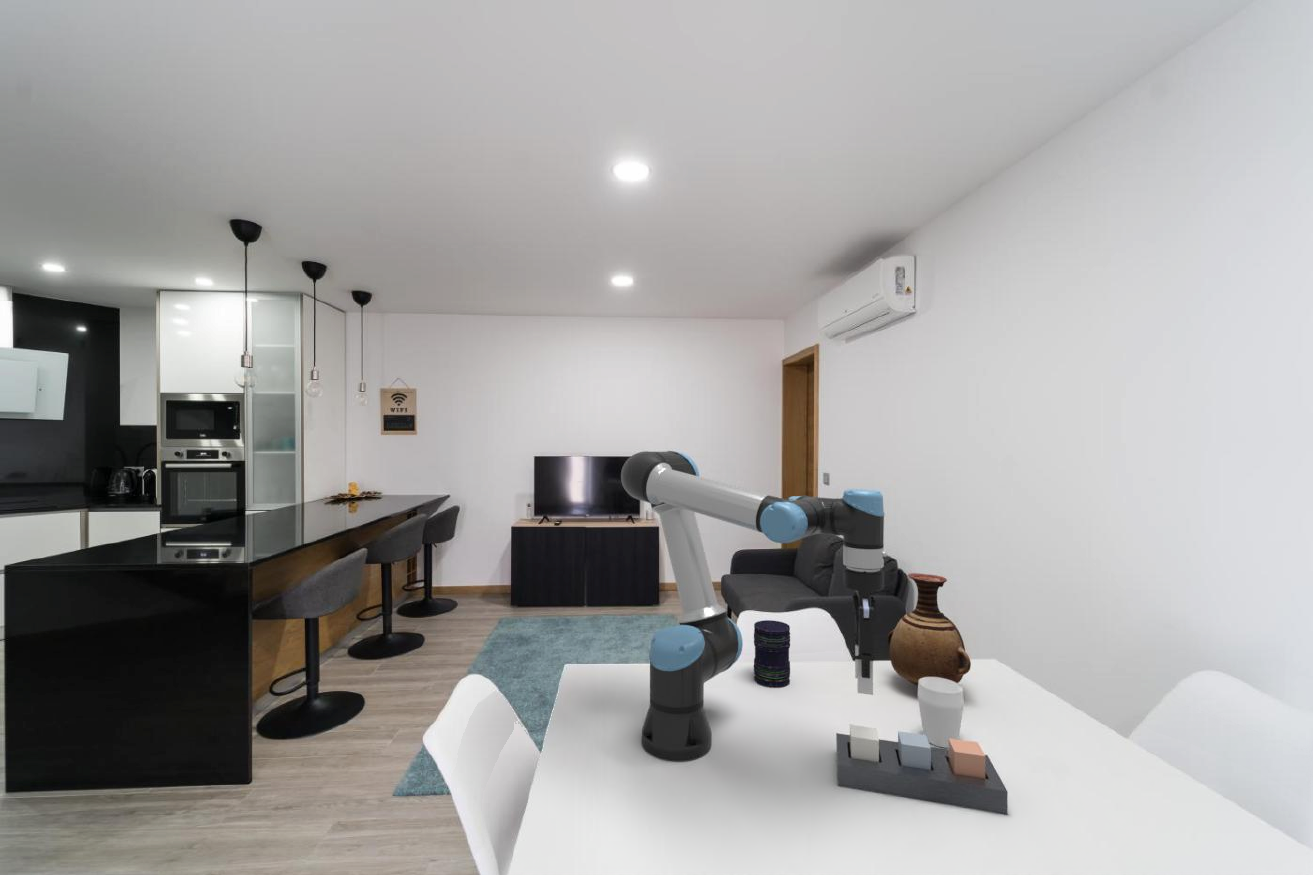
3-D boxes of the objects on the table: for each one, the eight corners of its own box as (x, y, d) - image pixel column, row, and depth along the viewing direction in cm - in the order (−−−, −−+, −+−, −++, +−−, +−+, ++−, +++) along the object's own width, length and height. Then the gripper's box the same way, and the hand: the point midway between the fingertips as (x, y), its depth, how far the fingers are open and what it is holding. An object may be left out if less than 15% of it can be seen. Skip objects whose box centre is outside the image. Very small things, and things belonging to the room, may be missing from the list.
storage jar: (769, 670, 158) (769, 618, 159) (797, 681, 151) (797, 626, 151) (746, 679, 152) (746, 624, 152) (774, 691, 145) (774, 634, 145)
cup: (970, 753, 115) (970, 695, 116) (924, 748, 117) (923, 691, 117) (956, 732, 124) (955, 678, 124) (913, 727, 126) (912, 674, 126)
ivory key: (851, 762, 107) (851, 736, 107) (849, 749, 111) (849, 724, 111) (879, 767, 105) (878, 740, 105) (876, 753, 110) (876, 728, 110)
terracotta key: (954, 779, 101) (954, 751, 102) (948, 764, 106) (948, 738, 106) (985, 784, 100) (985, 756, 100) (977, 768, 105) (977, 742, 105)
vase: (871, 678, 153) (871, 569, 154) (924, 670, 159) (923, 566, 159) (931, 713, 133) (930, 588, 134) (989, 703, 138) (988, 583, 139)
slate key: (901, 770, 104) (901, 744, 104) (898, 756, 109) (898, 731, 109) (930, 775, 103) (930, 748, 103) (925, 761, 107) (925, 735, 107)
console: (838, 785, 104) (838, 764, 104) (836, 752, 115) (836, 733, 115) (1007, 814, 96) (1007, 791, 96) (987, 775, 107) (987, 755, 107)
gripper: (889, 580, 99) (890, 710, 98) (878, 559, 117) (879, 669, 117) (845, 577, 101) (845, 704, 100) (841, 557, 119) (841, 665, 119)
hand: (863, 685), depth 109 cm, fingers open, 6 cm apart
